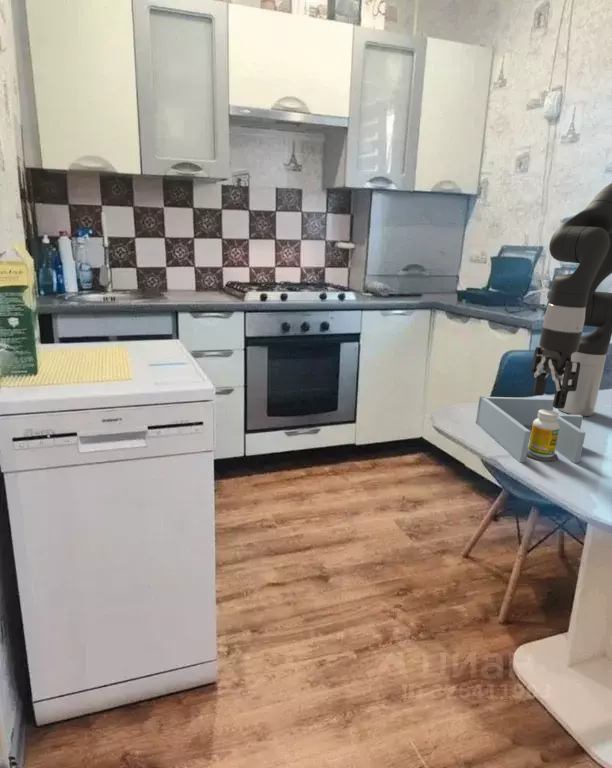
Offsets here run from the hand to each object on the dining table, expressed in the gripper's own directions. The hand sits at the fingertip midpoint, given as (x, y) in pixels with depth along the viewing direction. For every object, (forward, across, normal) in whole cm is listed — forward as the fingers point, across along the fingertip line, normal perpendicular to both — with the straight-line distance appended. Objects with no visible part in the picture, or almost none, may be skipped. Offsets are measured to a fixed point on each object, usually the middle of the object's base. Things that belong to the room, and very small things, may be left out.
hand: (547, 401), depth 116 cm
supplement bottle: (+12, -1, 0) cm, 12 cm away
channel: (+12, +7, -3) cm, 15 cm away
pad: (+12, -1, 0) cm, 12 cm away
